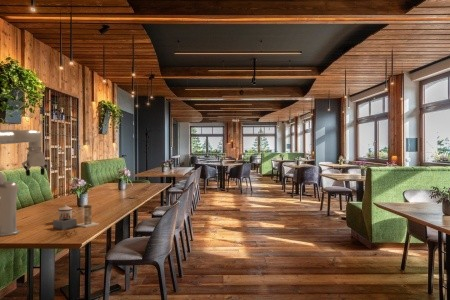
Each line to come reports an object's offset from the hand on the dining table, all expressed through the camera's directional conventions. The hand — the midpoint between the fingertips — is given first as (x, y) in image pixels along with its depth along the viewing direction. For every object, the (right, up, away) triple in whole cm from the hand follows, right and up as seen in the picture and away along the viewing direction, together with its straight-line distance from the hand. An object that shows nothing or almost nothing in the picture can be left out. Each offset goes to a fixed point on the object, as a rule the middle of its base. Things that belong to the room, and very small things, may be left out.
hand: (35, 175), depth 237 cm
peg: (+35, -32, 0) cm, 48 cm away
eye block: (+23, -33, -7) cm, 41 cm away
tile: (+35, -33, 0) cm, 48 cm away
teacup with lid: (+16, -33, +11) cm, 39 cm away
